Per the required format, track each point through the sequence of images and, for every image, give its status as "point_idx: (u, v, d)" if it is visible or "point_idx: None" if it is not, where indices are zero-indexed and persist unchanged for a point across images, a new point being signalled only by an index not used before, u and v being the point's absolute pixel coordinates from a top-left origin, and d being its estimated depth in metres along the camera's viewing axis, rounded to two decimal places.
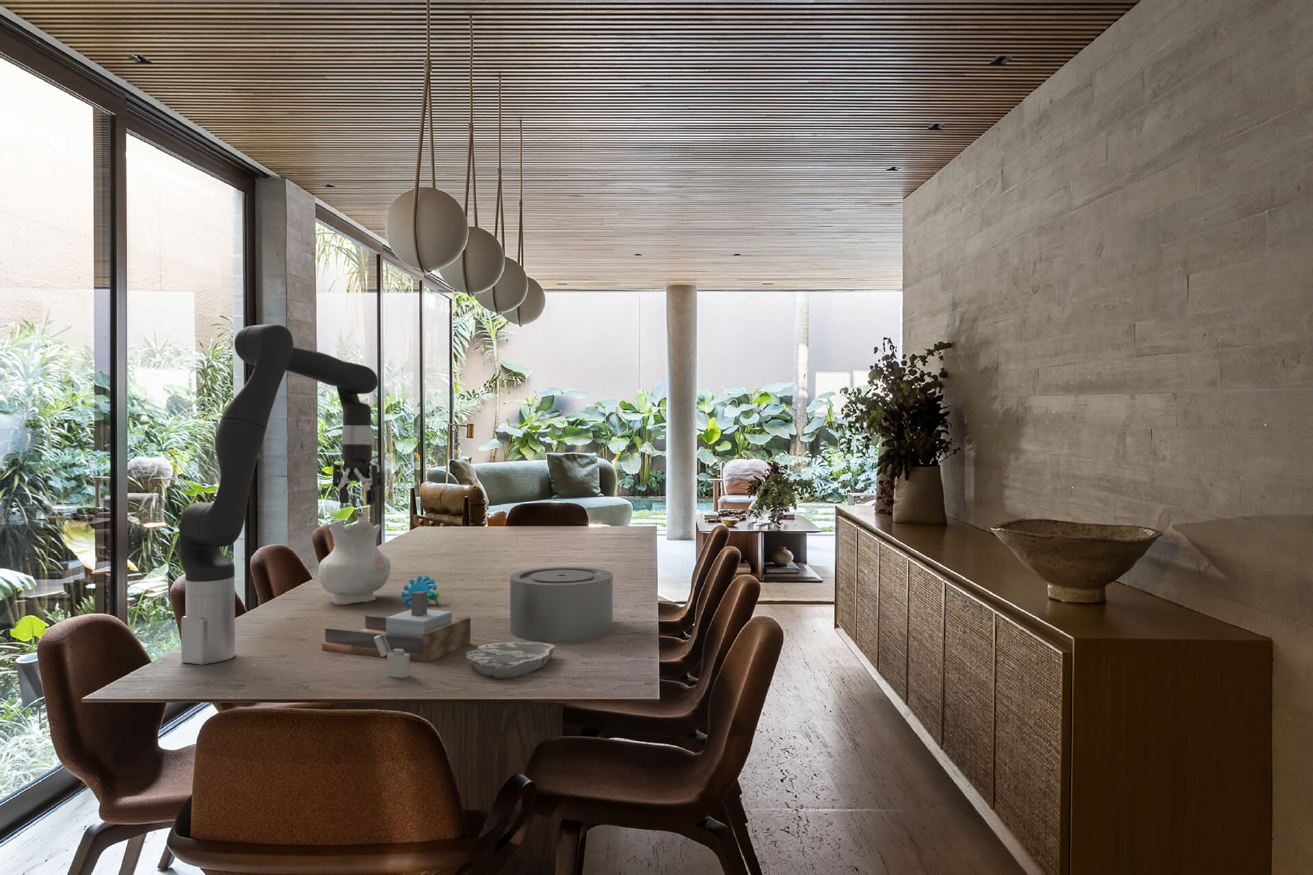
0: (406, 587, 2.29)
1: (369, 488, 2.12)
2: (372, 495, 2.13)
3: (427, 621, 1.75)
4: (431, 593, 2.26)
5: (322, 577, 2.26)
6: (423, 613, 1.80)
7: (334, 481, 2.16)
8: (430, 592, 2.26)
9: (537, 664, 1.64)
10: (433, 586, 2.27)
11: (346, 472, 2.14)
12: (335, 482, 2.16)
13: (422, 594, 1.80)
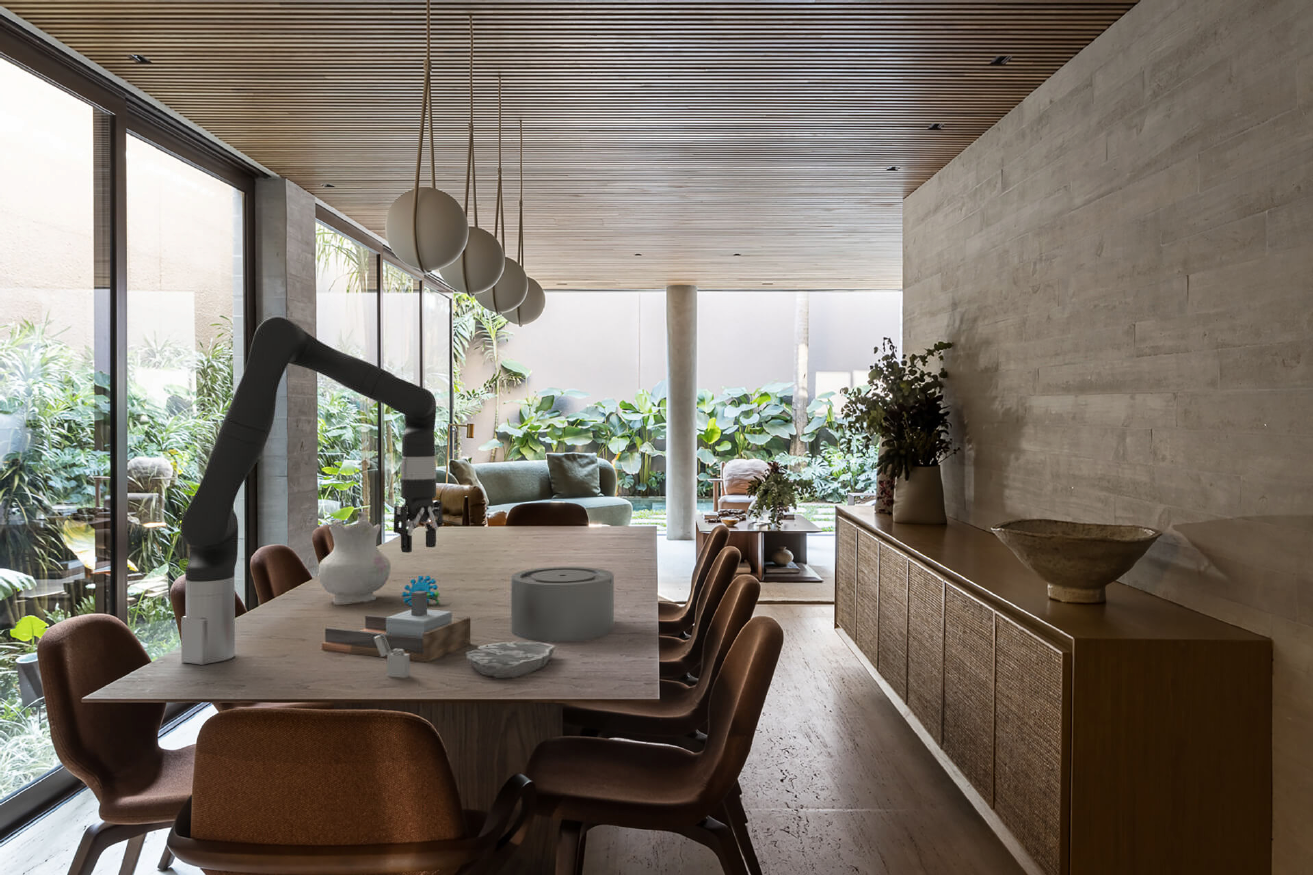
0: (407, 587, 2.29)
1: (437, 528, 1.85)
2: None
3: (427, 621, 1.75)
4: (431, 593, 2.26)
5: (322, 577, 2.26)
6: (423, 613, 1.80)
7: (404, 526, 1.74)
8: (430, 592, 2.26)
9: (537, 664, 1.64)
10: (434, 586, 2.27)
11: (420, 513, 1.78)
12: (405, 527, 1.74)
13: (422, 594, 1.80)
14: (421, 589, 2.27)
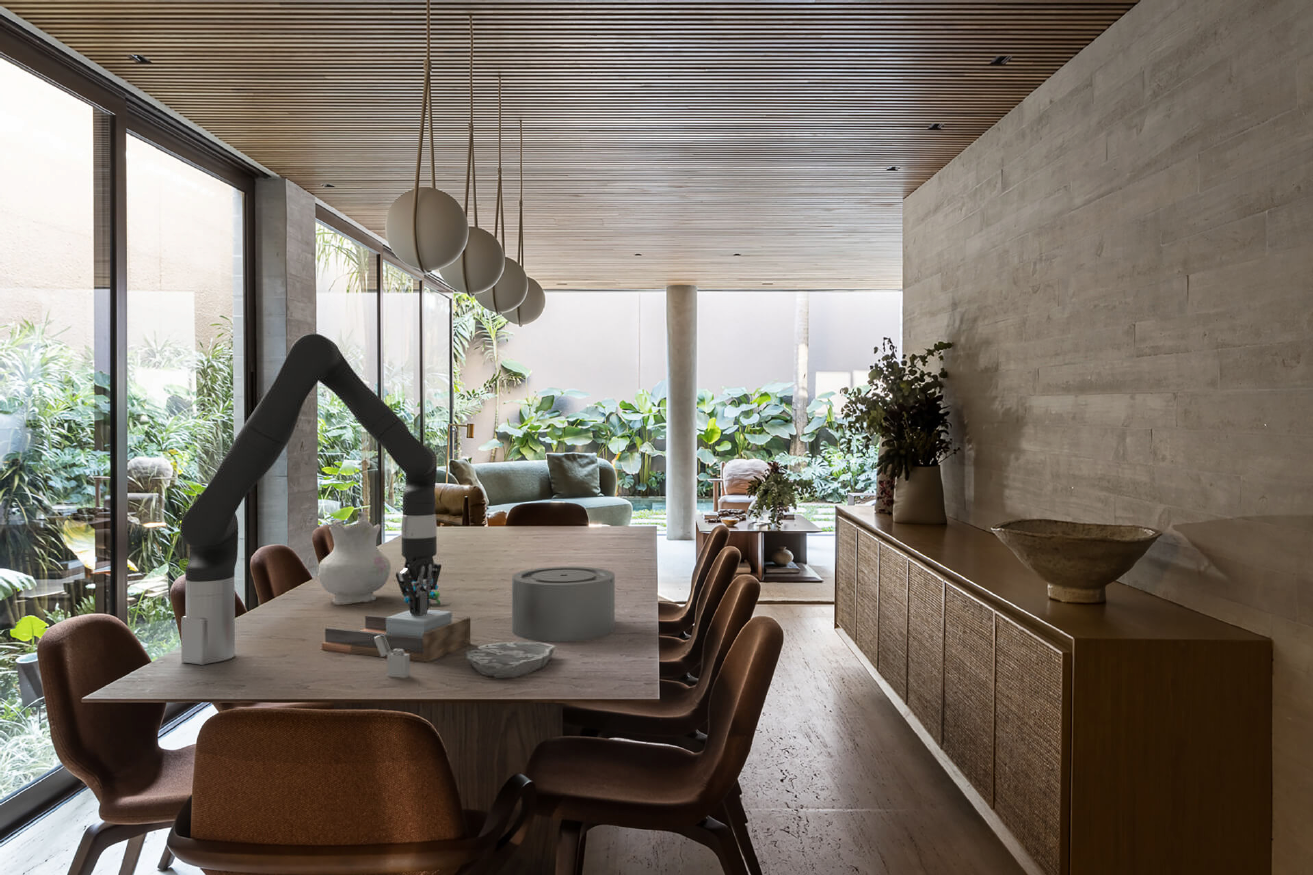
0: None
1: (430, 591, 1.82)
2: None
3: (427, 621, 1.75)
4: (432, 593, 2.26)
5: (322, 577, 2.26)
6: (423, 613, 1.80)
7: (412, 590, 1.76)
8: (431, 592, 2.26)
9: (537, 664, 1.64)
10: None
11: (422, 572, 1.78)
12: (413, 590, 1.77)
13: (422, 594, 1.80)
14: None
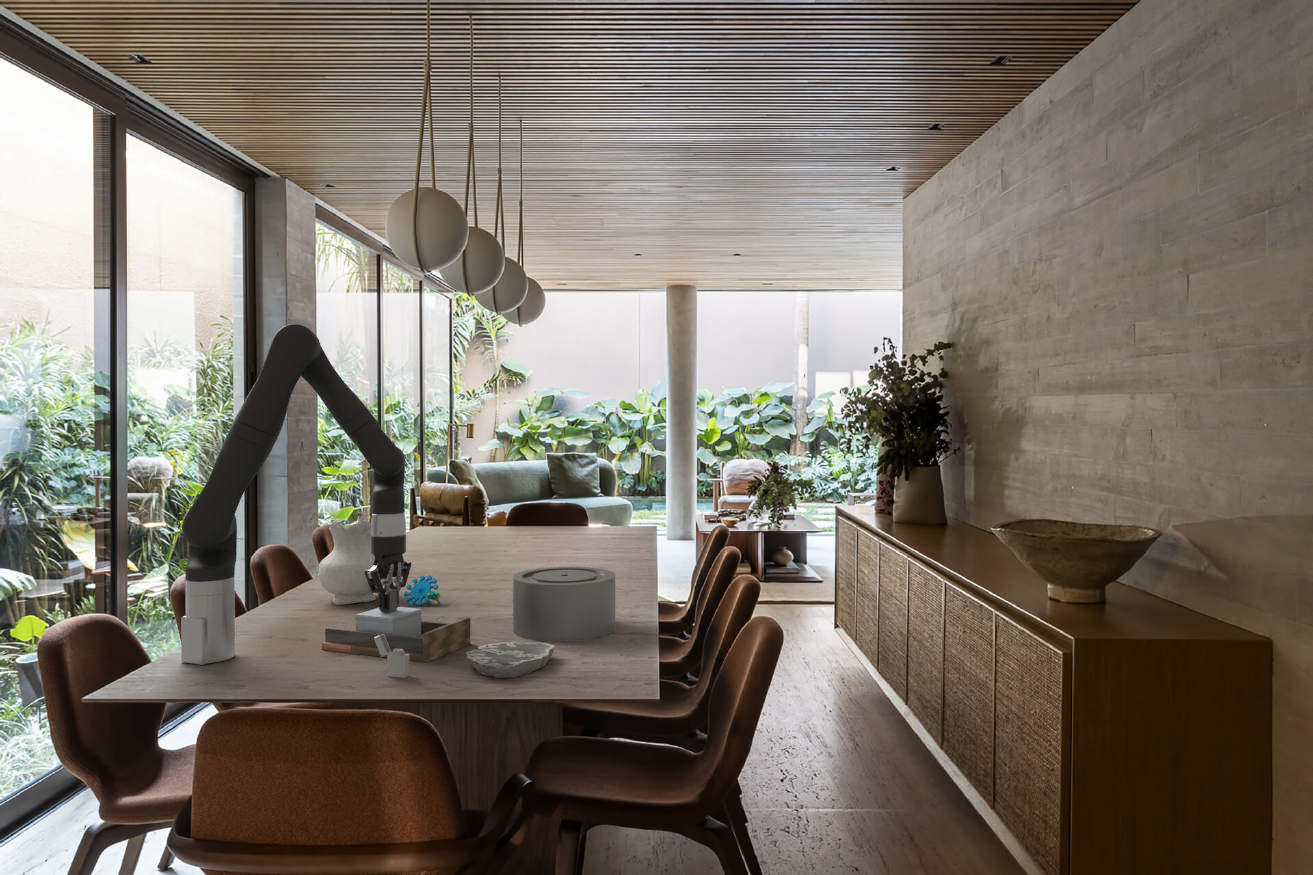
0: (409, 586, 2.30)
1: (399, 588, 1.85)
2: None
3: (396, 618, 1.78)
4: (432, 593, 2.26)
5: (322, 577, 2.26)
6: (393, 610, 1.83)
7: (380, 587, 1.79)
8: (431, 592, 2.26)
9: (537, 664, 1.64)
10: (434, 586, 2.27)
11: (391, 570, 1.81)
12: (382, 587, 1.80)
13: (391, 591, 1.83)
14: (422, 589, 2.28)
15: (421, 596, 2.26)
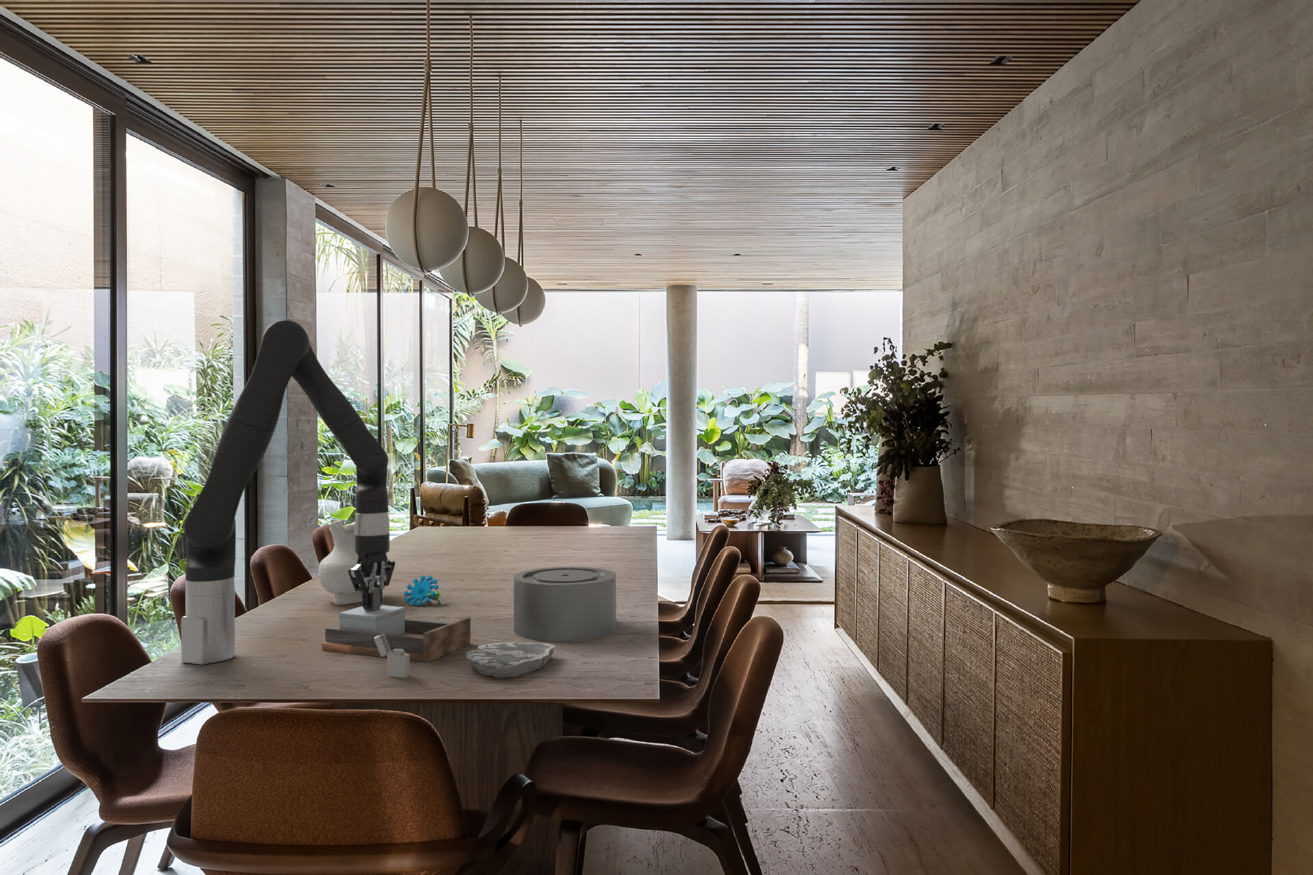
0: (409, 586, 2.30)
1: (383, 587, 1.87)
2: None
3: (379, 616, 1.80)
4: (432, 593, 2.26)
5: (322, 577, 2.26)
6: (376, 608, 1.85)
7: (364, 586, 1.81)
8: (431, 592, 2.26)
9: (537, 664, 1.64)
10: (435, 586, 2.28)
11: (374, 568, 1.83)
12: (366, 586, 1.81)
13: (375, 590, 1.84)
14: (422, 589, 2.28)
15: (421, 596, 2.26)
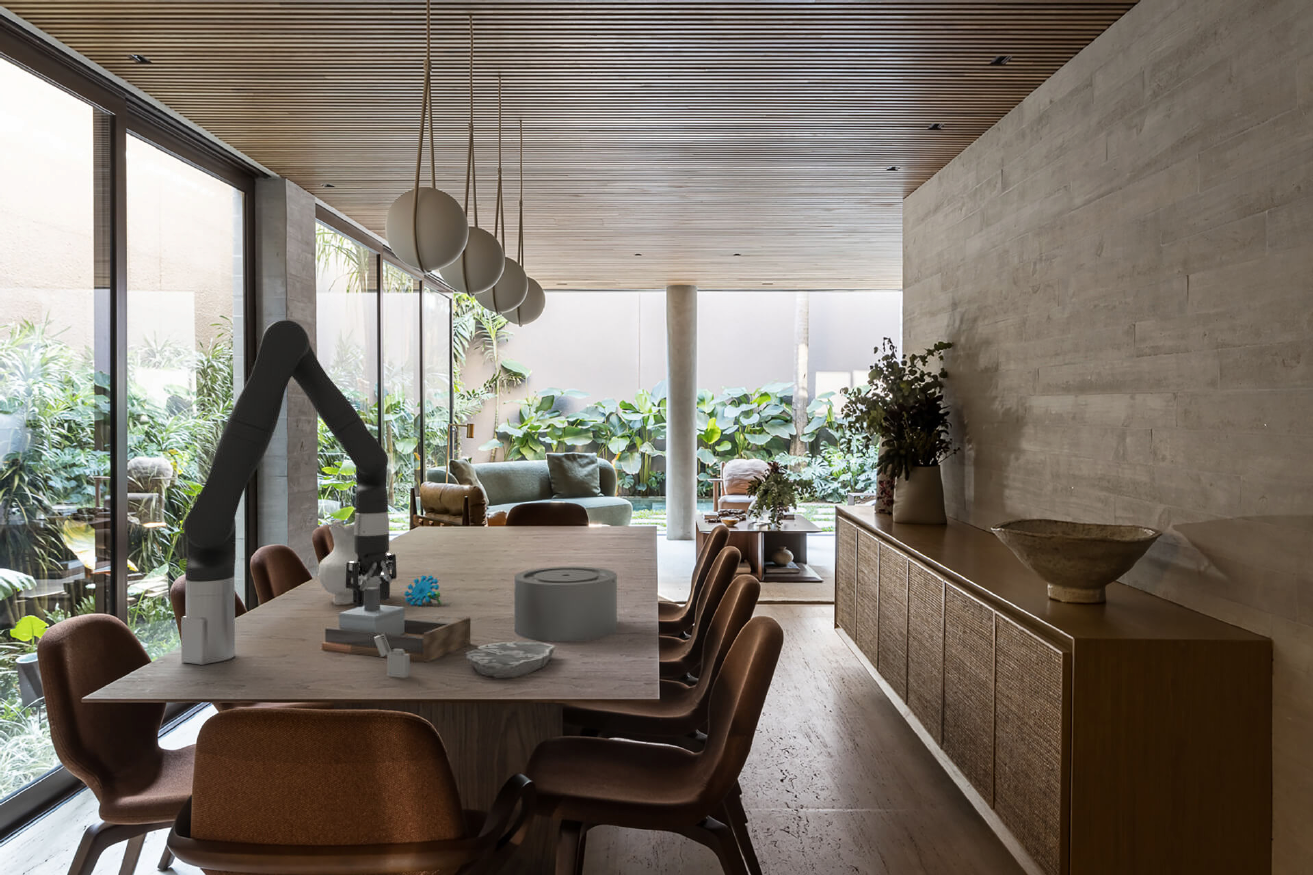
0: (410, 586, 2.30)
1: (390, 580, 1.89)
2: None
3: (378, 616, 1.80)
4: (432, 593, 2.26)
5: (322, 577, 2.26)
6: (376, 608, 1.85)
7: (356, 582, 1.79)
8: (432, 592, 2.26)
9: (537, 664, 1.64)
10: (435, 586, 2.28)
11: (373, 568, 1.83)
12: (357, 583, 1.79)
13: (375, 590, 1.84)
14: (423, 589, 2.28)
15: (422, 596, 2.26)
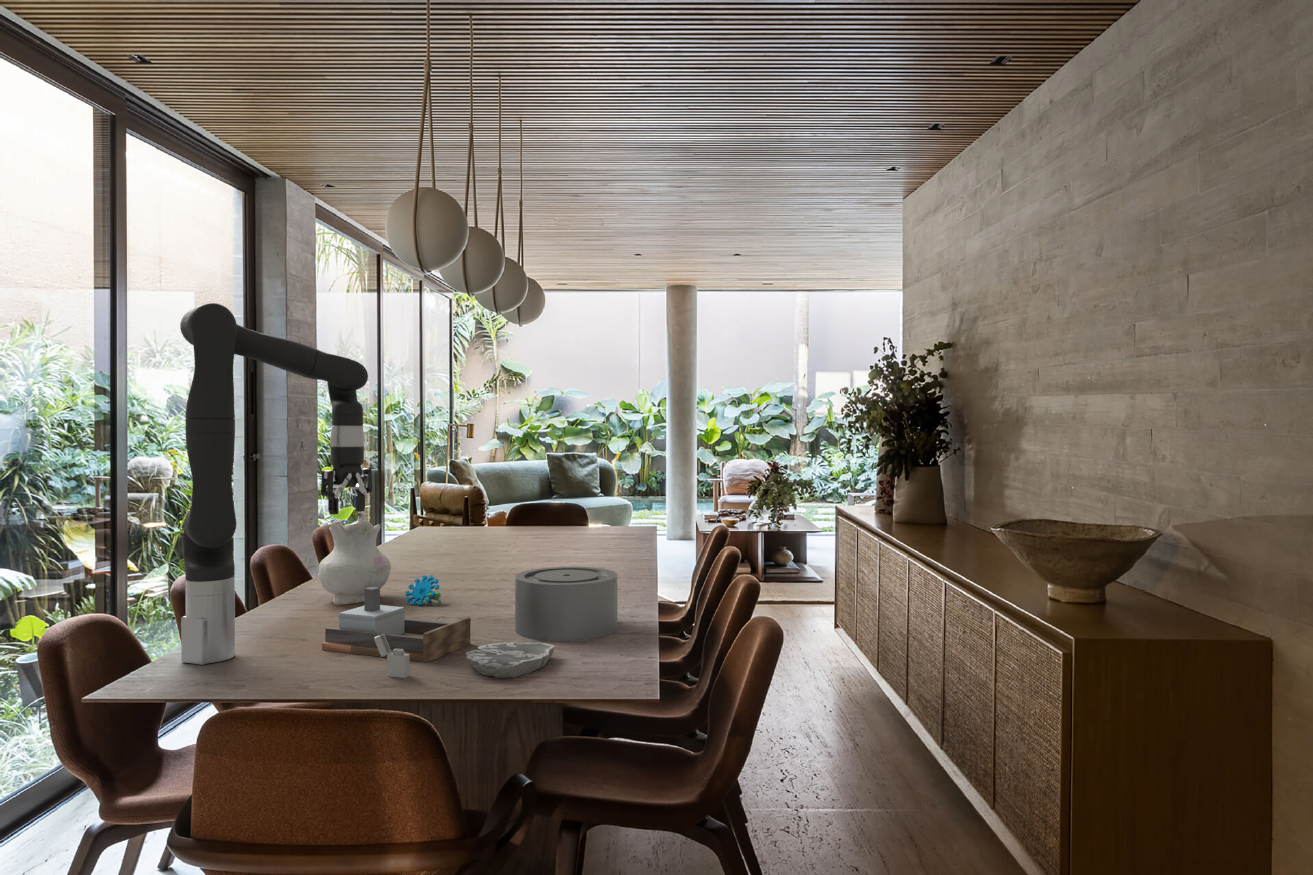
0: (411, 586, 2.30)
1: (366, 493, 1.98)
2: None
3: (378, 616, 1.80)
4: (433, 593, 2.26)
5: (322, 577, 2.26)
6: (376, 608, 1.85)
7: (331, 490, 1.87)
8: (432, 592, 2.26)
9: (537, 664, 1.64)
10: (435, 586, 2.28)
11: (347, 478, 1.91)
12: (331, 491, 1.88)
13: (375, 590, 1.84)
14: (423, 589, 2.28)
15: (422, 596, 2.26)
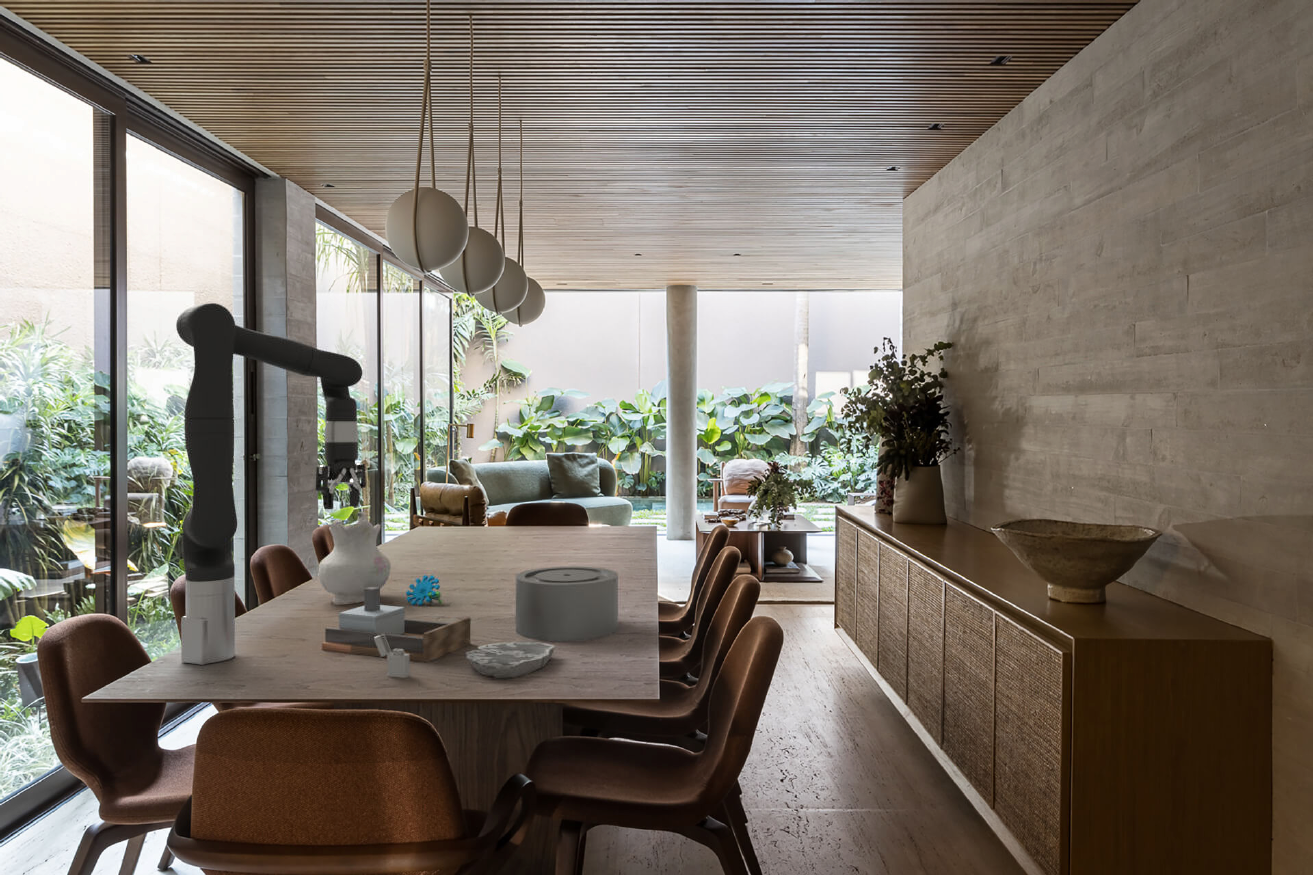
0: (411, 586, 2.30)
1: (360, 488, 2.00)
2: None
3: (378, 616, 1.80)
4: (433, 593, 2.26)
5: (322, 577, 2.26)
6: (376, 608, 1.85)
7: (325, 485, 1.89)
8: (432, 592, 2.26)
9: (537, 664, 1.64)
10: (436, 586, 2.28)
11: (342, 473, 1.93)
12: (326, 486, 1.89)
13: (375, 590, 1.84)
14: (424, 588, 2.28)
15: (422, 596, 2.26)
